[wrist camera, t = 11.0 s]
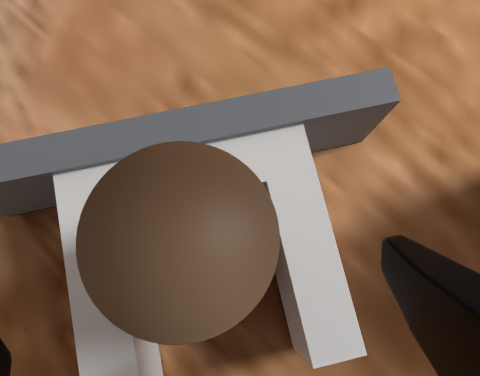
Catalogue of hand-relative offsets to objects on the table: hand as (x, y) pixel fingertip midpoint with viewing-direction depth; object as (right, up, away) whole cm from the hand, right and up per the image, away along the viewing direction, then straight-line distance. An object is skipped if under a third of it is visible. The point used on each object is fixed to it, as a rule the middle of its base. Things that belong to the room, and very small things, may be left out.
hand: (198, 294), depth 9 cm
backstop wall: (-2, +4, +11) cm, 12 cm away
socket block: (-1, -1, +10) cm, 10 cm away
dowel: (-1, -1, +10) cm, 10 cm away
